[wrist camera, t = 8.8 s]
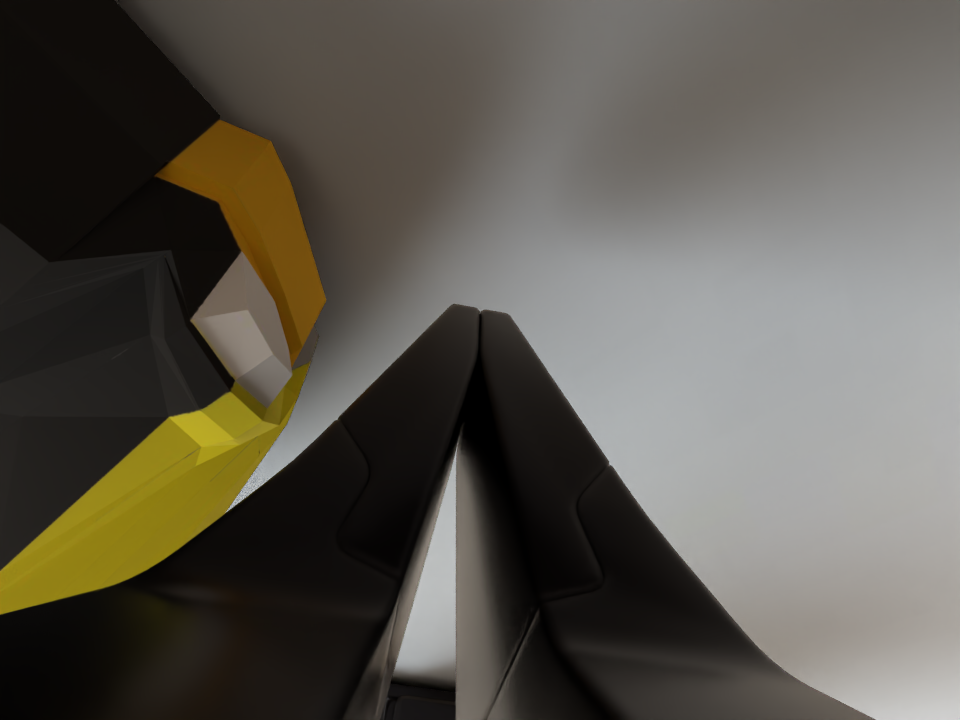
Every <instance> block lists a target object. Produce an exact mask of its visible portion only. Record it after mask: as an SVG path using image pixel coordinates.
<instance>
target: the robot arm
mask: <svg viewBox="0 0 960 720" xmlns="http://www.w3.org/2000/svg"><path fill="white" fill-rule="evenodd" d="M457 443H458V445H457ZM456 448H457V458H456V692H448V691H441V690H434V689H427V688H419V687H412V686H405V685H398V684H391V680H392V676H393V672H394V669H395V665H396V662H397V658H398V655H399V651H400V648H401V644H402V641H403V637H404V634H405V630H406V627H407V623H408V620H409V616H410V613H411V609H412V605H413V602H414V598H415V595H416V591H417V588H418V584H419V581H420V577H421V574H422V570H423V567H424V563H425V560H426V556H427V553H428V549H429V546H430V542H431V538H432V535H433V531H434V528H435V524H436V521H437V517H438V514H439V510H440V507H441V503H442V500H443V496H444V493H445V489H446V486H447V482H448V479H449V475H450V471H451V468H452V464H453V460H454V456H455V452H456ZM0 720H875V719H873V718H871V717H869V716H867V715H865V714H863V713H861V712H859V711H858V710H856V709H854V708H852V707H850V706H848V705H846V704H844V703H842V702H840V701H838V700H836V699H834V698H832V697H830V696H828V695H826V694H824V693H822V692H820V691H818V690H816V689H814V688H812V687H810V686H808V685H806V684H804V683H803V682H801V681H799V680H798V679H796V678H795V677H793V676H792V675H790V674H789V673H787V672H786V671H785V670H783V669H782V668H781V667H780V666H778V665H777V664H776V663H775V662H773V661H772V660H771V659H770V658H769V657H768V656H767V655H766V654H765V653H764V652H762V651H761V650H760V649H759V648H758V647H757V646H756V645H755V644H754V642H753V641H752V640H751V639H750V638H749V637H748V636H747V635H746V634H745V633H744V631H743V630H742V629H741V628H740V627H739V626H738V624H737V623H736V622H735V621H734V620H733V618H732V617H731V616H730V615H729V614H728V612H727V611H726V610H725V609H724V608H723V607H722V605H721V604H720V603H719V602H718V601H717V599H716V598H715V597H714V596H713V595H712V594H711V592H710V591H709V590H708V589H707V588H706V586H705V585H704V584H703V583H702V582H701V580H700V579H699V578H698V577H697V576H696V575H695V573H694V572H693V571H692V570H691V569H690V567H689V566H688V565H687V564H686V563H685V561H684V560H683V559H682V558H681V557H680V556H679V554H678V553H677V552H676V551H675V550H674V548H673V547H672V546H671V545H670V543H669V542H668V541H667V540H666V538H665V537H664V536H663V535H662V533H661V532H660V531H659V530H658V528H657V527H656V526H655V525H654V524H653V522H652V521H651V520H650V519H649V517H648V516H647V515H646V513H645V512H644V511H643V509H642V508H641V506H640V505H639V504H638V502H637V501H636V499H635V498H634V497H633V495H632V494H631V493H630V491H629V490H628V488H627V487H626V486H625V484H624V483H623V481H622V480H621V478H620V477H619V475H618V474H617V472H616V471H615V469H614V468H613V467H612V466H611V465H609V461H608V459H607V458H606V456H605V455H604V454H603V452H602V451H601V449H600V448H599V446H598V445H597V443H596V442H595V440H594V439H593V437H592V436H591V434H590V433H589V431H588V430H587V428H586V427H585V425H584V424H583V423H582V421H581V420H580V418H579V417H578V415H577V414H576V412H575V411H574V409H573V408H572V406H571V405H570V403H569V402H568V400H567V399H566V397H565V396H564V394H563V393H562V392H561V390H560V389H559V387H558V386H557V384H556V383H555V381H554V380H553V378H552V377H551V375H550V374H549V372H548V371H547V369H546V368H545V366H544V365H543V363H542V362H541V361H540V359H539V358H538V356H537V355H536V353H535V352H534V350H533V349H532V347H531V346H530V344H529V343H528V341H527V340H526V338H525V337H524V335H523V334H522V332H521V331H520V330H519V328H518V327H517V325H516V324H515V322H514V321H513V319H512V318H511V316H510V315H509V314H507V313H503V312H497V311H491V310H482V311H481V312H480V311H479V310H478V309H477V308H475V307H470V306H464V305H459V304H453V305H451V306H450V307H449V308H448V309H447V310H446V311H445V312H444V313H443V314H442V315H441V316H440V317H439V318H438V319H437V320H436V321H435V322H434V323H433V324H432V325H431V326H430V327H429V328H428V329H427V330H426V331H425V332H424V333H423V334H422V335H421V336H420V337H419V338H418V339H417V340H416V341H415V342H414V343H413V344H412V345H411V346H410V347H409V348H408V349H407V350H406V351H405V352H404V353H403V354H402V355H401V356H400V357H399V358H398V359H397V360H396V361H395V362H394V363H393V364H392V365H391V366H390V367H389V368H388V369H387V370H386V371H385V372H384V373H383V374H382V375H381V376H380V377H379V378H378V379H377V380H376V381H375V382H373V383H372V384H371V385H370V386H369V387H368V388H367V389H366V390H365V391H364V392H363V393H362V394H361V395H360V396H359V397H358V398H357V399H356V400H355V401H354V402H353V403H352V404H351V405H350V406H349V407H348V408H347V409H346V410H345V411H344V412H343V413H342V414H341V415H340V416H339V418H338V420H335V421H334V422H333V423H332V424H331V425H330V426H329V427H328V428H327V429H326V430H325V431H324V432H323V433H322V434H321V435H320V436H319V437H318V438H317V439H316V440H315V441H314V442H313V443H312V444H310V445H309V446H308V447H307V448H306V449H305V450H304V451H303V452H302V453H301V454H300V455H299V456H297V457H296V458H295V459H294V460H293V461H292V462H291V463H289V464H288V465H287V466H286V467H284V468H283V469H282V470H281V471H279V472H278V473H277V474H276V475H274V476H273V477H272V478H271V479H269V480H268V481H267V482H266V483H264V484H263V485H262V486H261V487H259V488H258V489H257V490H255V491H254V492H253V493H251V494H250V495H249V496H247V497H246V498H245V499H243V500H242V501H241V502H240V503H238V504H237V505H236V506H234V507H233V508H232V509H230V510H229V511H228V512H226V513H225V514H224V515H222V516H221V517H220V518H218V519H217V520H216V521H214V522H213V523H212V524H211V525H209V526H208V527H207V528H205V529H204V530H203V531H201V532H200V533H199V534H197V535H196V536H195V537H193V538H192V539H191V540H189V541H188V542H187V543H185V544H184V545H183V546H182V547H180V548H179V549H178V550H176V551H175V552H173V553H172V554H171V555H169V556H168V557H166V558H165V559H163V560H162V561H160V562H159V563H157V564H155V565H154V566H152V567H150V568H149V569H147V570H145V571H143V572H141V573H139V574H137V575H135V576H133V577H131V578H129V579H127V580H124V581H122V582H120V583H117V584H114V585H111V586H108V587H104V588H101V589H97V590H93V591H89V592H85V593H81V594H78V595H74V596H70V597H66V598H62V599H58V600H54V601H51V602H47V603H43V604H39V605H35V606H31V607H27V608H24V609H20V610H16V611H12V612H8V613H4V614H0Z"/></svg>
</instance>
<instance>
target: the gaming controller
mask: <svg viewBox="0 0 960 720" xmlns="http://www.w3.org/2000/svg"><path fill="white" fill-rule="evenodd" d="M219 118H220V115H219V114H218V113H217V112H216V111H215V110H214V109H213V107H212V106H211V105H210V104H209V103H208V102H207V101H206V100H205V99H204V98H203V97H202V95H201V94H200V93H199V92H198V91H197V90H196V89H195V88H194V87H193V86H192V85H191V83H190V82H189V81H188V80H187V79H186V78H185V77H184V76H183V75H182V74H181V73H180V71H179V70H178V69H177V68H176V67H175V66H174V65H173V64H172V63H171V62H170V61H169V59H168V58H167V57H166V56H165V55H164V54H163V53H162V52H161V51H160V50H159V49H158V47H157V46H156V45H155V44H154V43H153V42H152V41H151V40H150V39H149V38H148V37H147V35H146V34H145V33H144V32H143V31H142V30H141V29H140V28H139V27H138V26H137V25H136V23H135V22H134V21H133V20H132V19H131V18H130V17H129V16H128V15H127V14H126V13H125V11H124V10H123V9H122V8H121V7H120V6H119V5H118V4H117V3H116V2H115V1H114V0H0V614H4V613H8V612H12V611H16V610H20V609H24V608H27V607H31V606H35V605H39V604H43V603H47V602H51V601H54V600H58V599H62V598H66V597H70V596H74V595H78V594H81V593H85V592H89V591H93V590H97V589H101V588H104V587H108V586H111V585H114V584H117V583H120V582H122V581H124V580H127V579H129V578H131V577H133V576H135V575H137V574H139V573H141V572H143V571H145V570H147V569H149V568H150V567H152V566H154V565H155V564H157V563H159V562H160V561H162V560H163V559H165V558H166V557H168V556H169V555H171V554H172V553H173V552H175V551H176V550H178V549H179V548H180V547H182V546H183V545H184V544H185V543H187V542H188V541H189V540H191V539H192V538H193V537H195V536H196V535H197V534H199V533H200V532H201V531H203V530H204V529H205V528H207V527H208V526H209V525H211V524H212V523H213V522H214V521H216V520H217V519H218V518H220V517H221V516H222V515H224V514H225V512H226V511H227V509H228V508H229V507H230V505H231V504H232V502H233V501H234V500H235V498H236V497H237V495H238V494H239V492H240V491H241V489H242V488H243V487H244V485H245V484H246V482H247V481H248V479H249V478H250V477H251V475H252V474H253V472H254V471H255V469H256V468H257V466H258V465H259V464H260V462H261V461H262V459H263V458H264V456H265V455H266V453H267V452H268V451H269V449H270V448H271V446H272V445H273V443H274V442H275V441H276V439H277V438H278V436H279V435H280V433H281V432H282V430H283V429H284V428H285V426H286V425H287V423H288V420H289V418H290V415H291V413H292V411H293V408H294V406H295V403H296V401H297V399H298V396H299V393H300V390H301V387H302V385H303V382H304V380H305V377H306V375H307V372H308V370H309V367H310V364H311V361H312V357H313V354H314V351H315V348H316V344H317V341H318V338H319V335H318V333H317V330H316V328H315V326H314V324H315V322H316V320H317V318H318V316H319V314H320V312H321V310H322V308H323V306H324V304H325V302H326V297H325V294H324V291H323V287H322V284H321V281H320V277H319V274H318V271H317V267H316V264H315V261H314V257H313V254H312V251H311V247H310V244H309V241H308V237H307V234H306V231H305V227H304V224H303V221H302V218H301V214H300V211H299V208H298V204H297V201H296V198H295V194H294V191H293V188H292V184H291V182H290V180H289V178H288V176H287V174H286V172H285V169H284V167H283V165H282V163H281V161H280V159H279V157H278V155H277V153H276V151H275V149H274V146H273V144H272V142H271V141H270V140H267V139H265V138H263V137H260V136H258V135H255V134H253V133H251V132H248V131H246V130H244V129H241V128H239V127H236V126H234V125H232V124H229V123H227V122H225V121H222V120H220V119H219Z"/></svg>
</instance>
